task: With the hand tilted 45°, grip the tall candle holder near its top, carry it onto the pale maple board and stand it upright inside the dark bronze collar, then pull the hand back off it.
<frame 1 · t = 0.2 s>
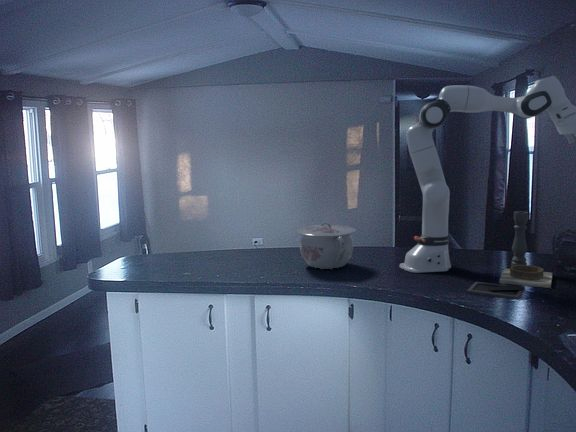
picture frame: (495, 293, 199), on the worktop
candle holder: (518, 270, 227), on the worktop
chamber pot: (326, 266, 244), on the worktop
collar board: (526, 279, 213), on the worktop
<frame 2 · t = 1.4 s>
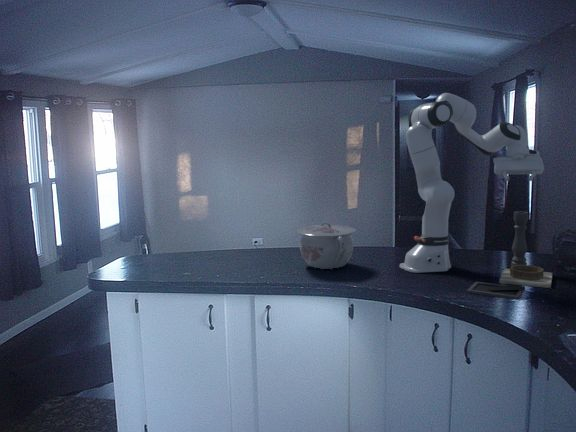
hand: (519, 180, 233), 37 cm above the worktop, tool tilted 45°, fingers open, 8 cm apart
nothing on the worktop moved.
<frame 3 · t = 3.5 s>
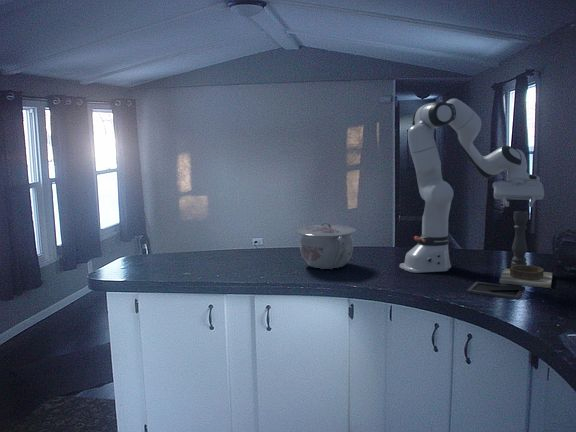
hand: (519, 205, 229), 27 cm above the worktop, tool tilted 45°, fingers open, 8 cm apart
nothing on the worktop moved.
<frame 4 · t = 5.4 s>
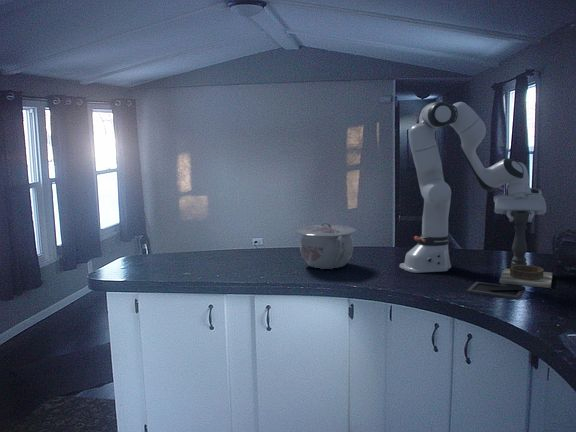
hand: (520, 221, 223), 21 cm above the worktop, tool tilted 45°, fingers closed on candle holder, 6 cm apart
candle holder: (518, 270, 227), on the worktop, touching gripper
everything else where it was.
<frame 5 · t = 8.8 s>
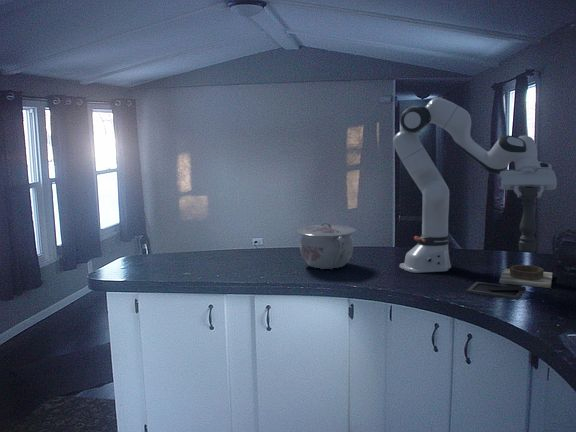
hand: (529, 196, 208), 33 cm above the worktop, tool tilted 45°, fingers closed on candle holder, 5 cm apart
candle holder: (527, 250, 213), point 12 cm above the worktop, touching gripper
everything else where it was.
when the fingers open (24 cm above the worktop, at t = 11.7 s): candle holder stays where it is, resting on collar board.
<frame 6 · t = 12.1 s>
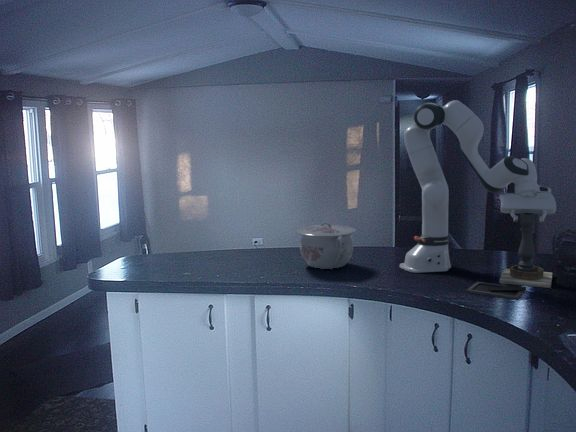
hand: (528, 220, 209), 24 cm above the worktop, tool tilted 45°, fingers open, 8 cm apart
candle holder: (525, 276, 213), point 1 cm above the worktop, touching collar board
everything else where it was.
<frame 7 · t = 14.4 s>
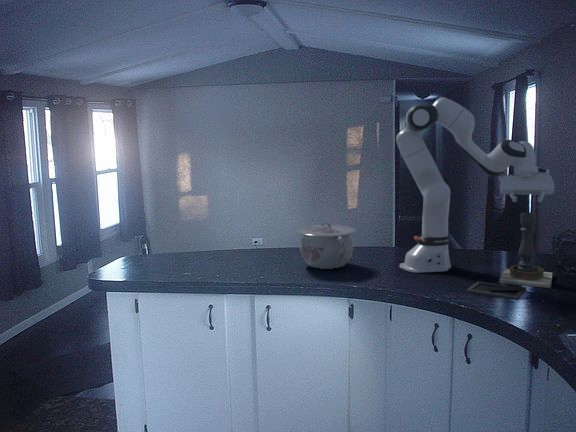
hand: (527, 201, 214), 31 cm above the worktop, tool tilted 45°, fingers open, 8 cm apart
nothing on the worktop moved.
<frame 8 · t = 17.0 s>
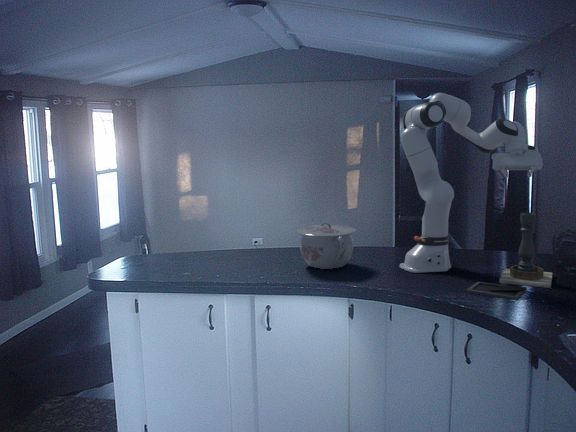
hand: (517, 176, 230), 39 cm above the worktop, tool tilted 45°, fingers open, 8 cm apart
nothing on the worktop moved.
at the end: candle holder 0.3 cm off-centre on the collar board, point 1.3 cm above the collar board's base; candle holder tilted 0°; the gripper is holding nothing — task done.
